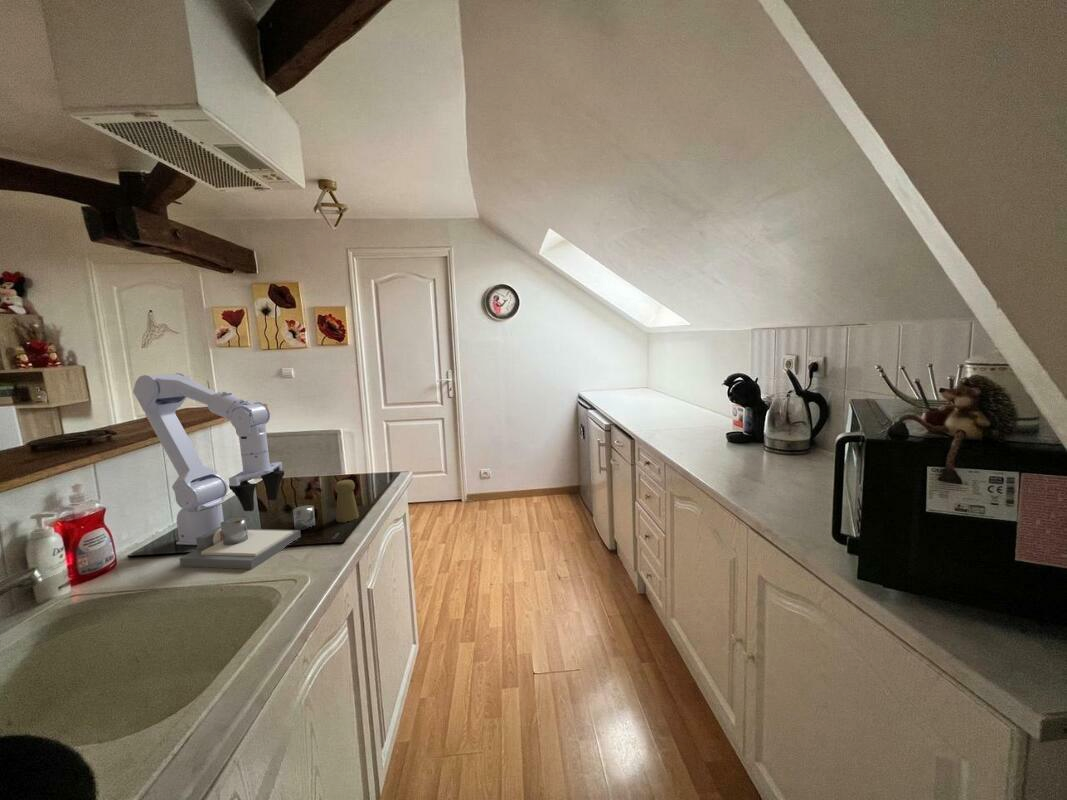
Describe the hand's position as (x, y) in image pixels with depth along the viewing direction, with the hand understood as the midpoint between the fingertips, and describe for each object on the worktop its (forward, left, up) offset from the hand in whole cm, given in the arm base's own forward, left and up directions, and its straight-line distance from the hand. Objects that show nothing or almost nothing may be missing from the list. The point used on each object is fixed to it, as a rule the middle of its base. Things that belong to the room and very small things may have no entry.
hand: (261, 505), depth 107 cm
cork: (+13, +15, -10) cm, 22 cm away
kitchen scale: (-1, -6, -10) cm, 11 cm away
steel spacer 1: (-3, -6, -7) cm, 9 cm away
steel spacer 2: (+4, +9, -9) cm, 14 cm away
